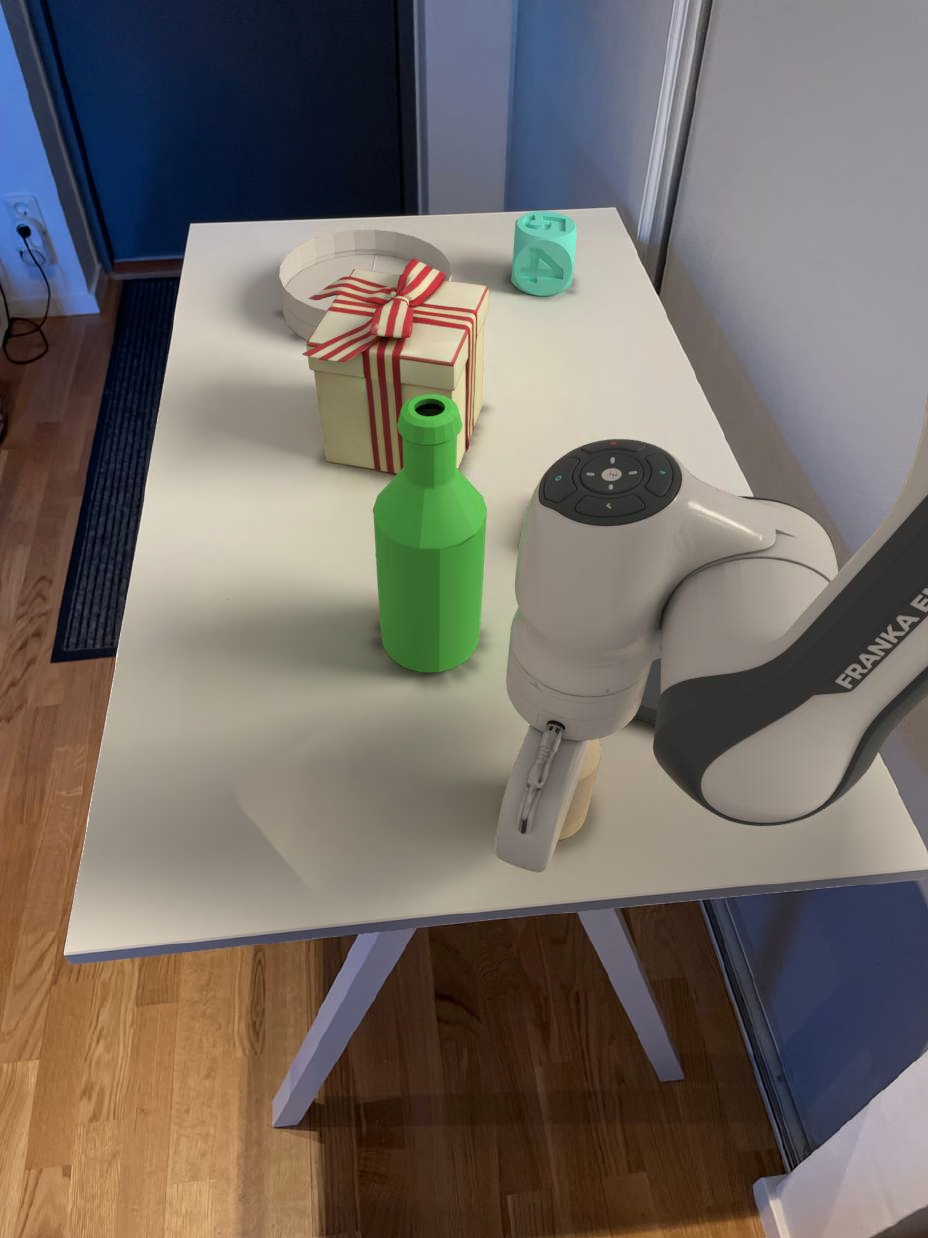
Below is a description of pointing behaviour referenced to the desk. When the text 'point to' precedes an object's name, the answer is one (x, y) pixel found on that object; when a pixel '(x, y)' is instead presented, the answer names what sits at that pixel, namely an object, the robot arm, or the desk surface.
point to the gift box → (394, 359)
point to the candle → (582, 792)
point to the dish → (344, 268)
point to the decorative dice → (544, 253)
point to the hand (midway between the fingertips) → (555, 784)
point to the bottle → (430, 544)
